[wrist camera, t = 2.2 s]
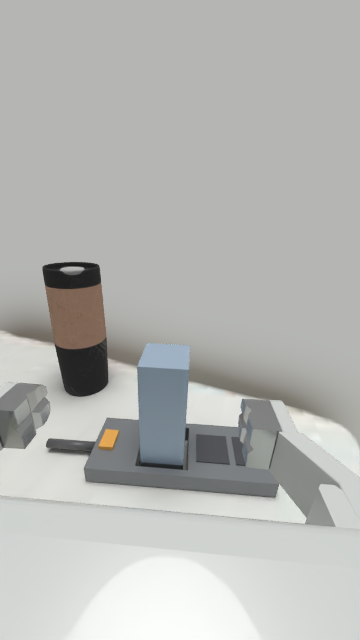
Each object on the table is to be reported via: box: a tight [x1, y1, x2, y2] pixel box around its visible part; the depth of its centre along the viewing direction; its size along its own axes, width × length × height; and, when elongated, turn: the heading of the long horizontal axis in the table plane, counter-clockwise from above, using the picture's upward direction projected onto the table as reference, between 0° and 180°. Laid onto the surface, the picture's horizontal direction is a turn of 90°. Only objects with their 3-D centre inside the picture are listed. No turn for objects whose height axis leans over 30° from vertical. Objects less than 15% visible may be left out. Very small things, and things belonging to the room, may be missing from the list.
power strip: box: [46, 418, 279, 497], centre depth 28 cm, size 26×7×2 cm, turn 87°
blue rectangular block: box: [137, 343, 190, 470], centre depth 26 cm, size 5×5×14 cm
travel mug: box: [43, 262, 108, 396], centre depth 37 cm, size 8×8×20 cm
